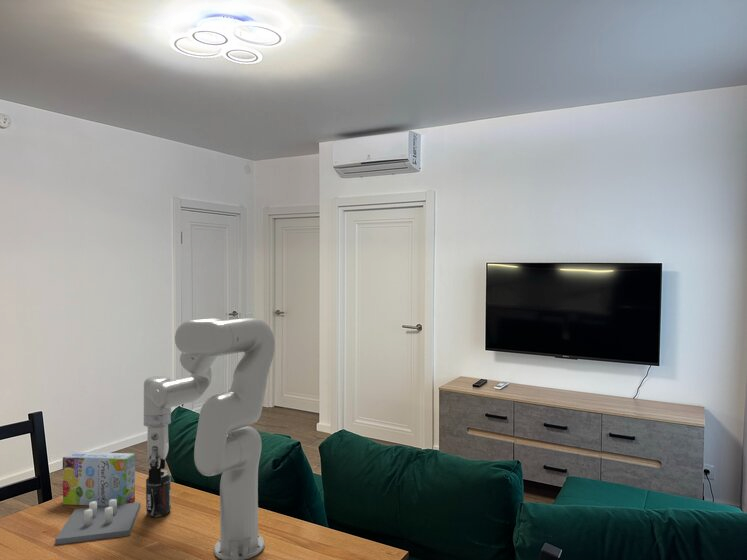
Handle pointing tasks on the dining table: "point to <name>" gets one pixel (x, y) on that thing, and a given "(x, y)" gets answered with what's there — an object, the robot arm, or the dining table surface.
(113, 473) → the snack box
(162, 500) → the beverage can
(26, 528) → the dining table surface
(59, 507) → the dining table surface
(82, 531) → the peg stand
